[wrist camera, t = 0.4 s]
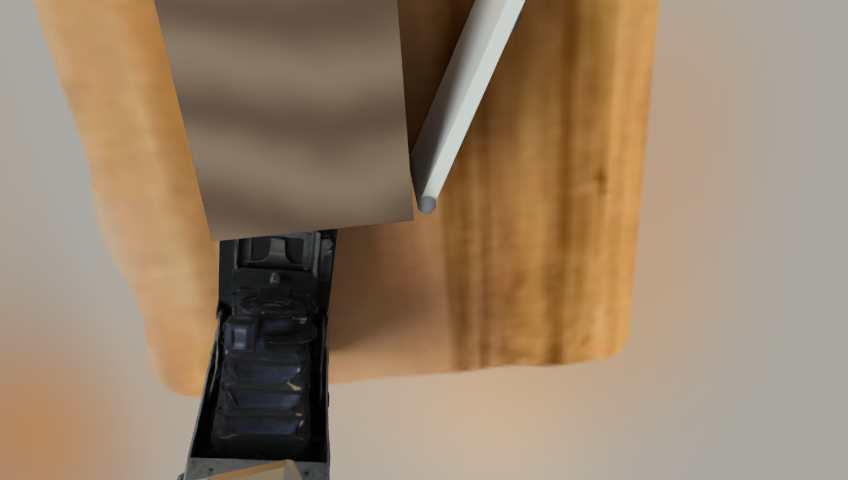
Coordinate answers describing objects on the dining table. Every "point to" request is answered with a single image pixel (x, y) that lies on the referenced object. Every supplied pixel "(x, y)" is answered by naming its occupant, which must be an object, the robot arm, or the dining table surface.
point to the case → (291, 112)
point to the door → (460, 95)
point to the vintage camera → (268, 358)
